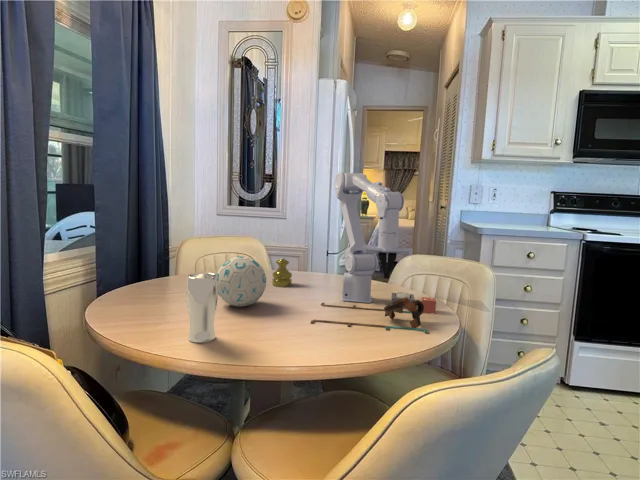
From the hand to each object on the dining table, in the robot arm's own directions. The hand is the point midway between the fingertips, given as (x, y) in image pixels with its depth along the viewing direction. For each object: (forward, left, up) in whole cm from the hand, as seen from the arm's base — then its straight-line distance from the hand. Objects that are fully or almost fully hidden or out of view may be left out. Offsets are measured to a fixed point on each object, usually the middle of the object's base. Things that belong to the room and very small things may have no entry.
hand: (386, 277), depth 122 cm
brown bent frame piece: (+6, -9, -11) cm, 15 cm away
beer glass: (-42, -35, -11) cm, 56 cm away
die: (+13, +4, -11) cm, 18 cm away
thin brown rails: (-4, -7, -10) cm, 13 cm away
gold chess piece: (-38, +25, -11) cm, 47 cm away
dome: (+6, +9, -10) cm, 15 cm away
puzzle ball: (-43, -6, -11) cm, 45 cm away
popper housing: (+6, +9, -10) cm, 15 cm away
